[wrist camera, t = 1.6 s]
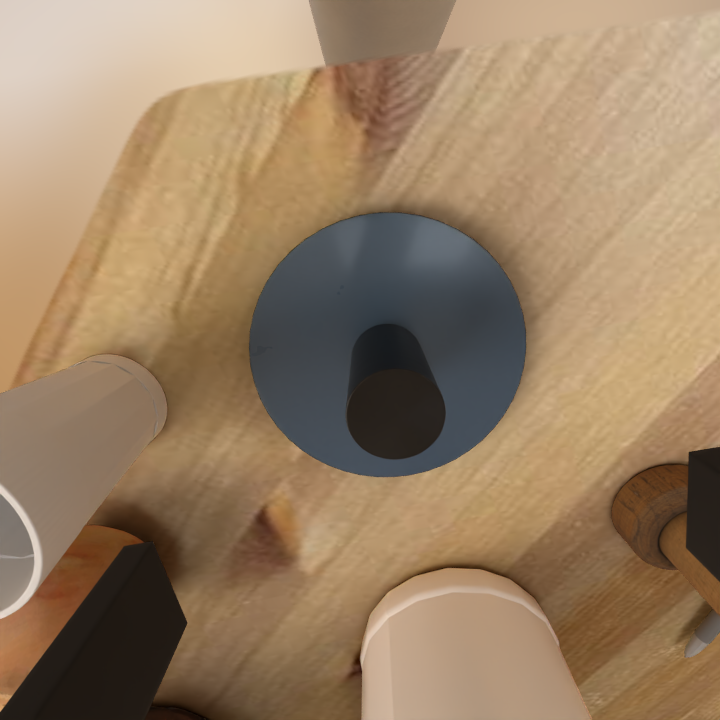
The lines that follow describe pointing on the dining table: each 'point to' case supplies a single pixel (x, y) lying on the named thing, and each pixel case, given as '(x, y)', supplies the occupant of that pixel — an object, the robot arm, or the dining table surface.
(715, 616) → the pen
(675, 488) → the mortar and pestle
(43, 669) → the robot arm
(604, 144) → the dining table surface
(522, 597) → the bottle
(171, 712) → the jug
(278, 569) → the dining table surface
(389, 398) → the lid
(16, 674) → the onion
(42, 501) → the cup
